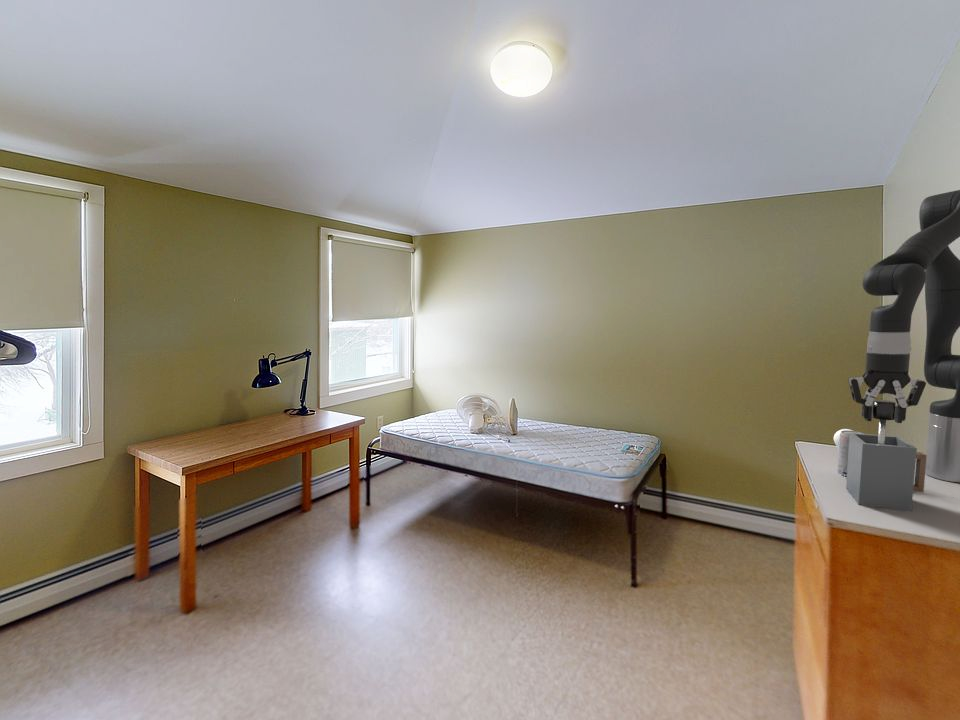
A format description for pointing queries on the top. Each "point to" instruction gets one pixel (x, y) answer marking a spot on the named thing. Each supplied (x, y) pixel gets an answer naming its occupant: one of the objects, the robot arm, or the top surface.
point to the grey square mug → (884, 471)
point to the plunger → (883, 416)
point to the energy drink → (844, 451)
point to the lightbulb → (837, 436)
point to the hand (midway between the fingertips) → (882, 421)
